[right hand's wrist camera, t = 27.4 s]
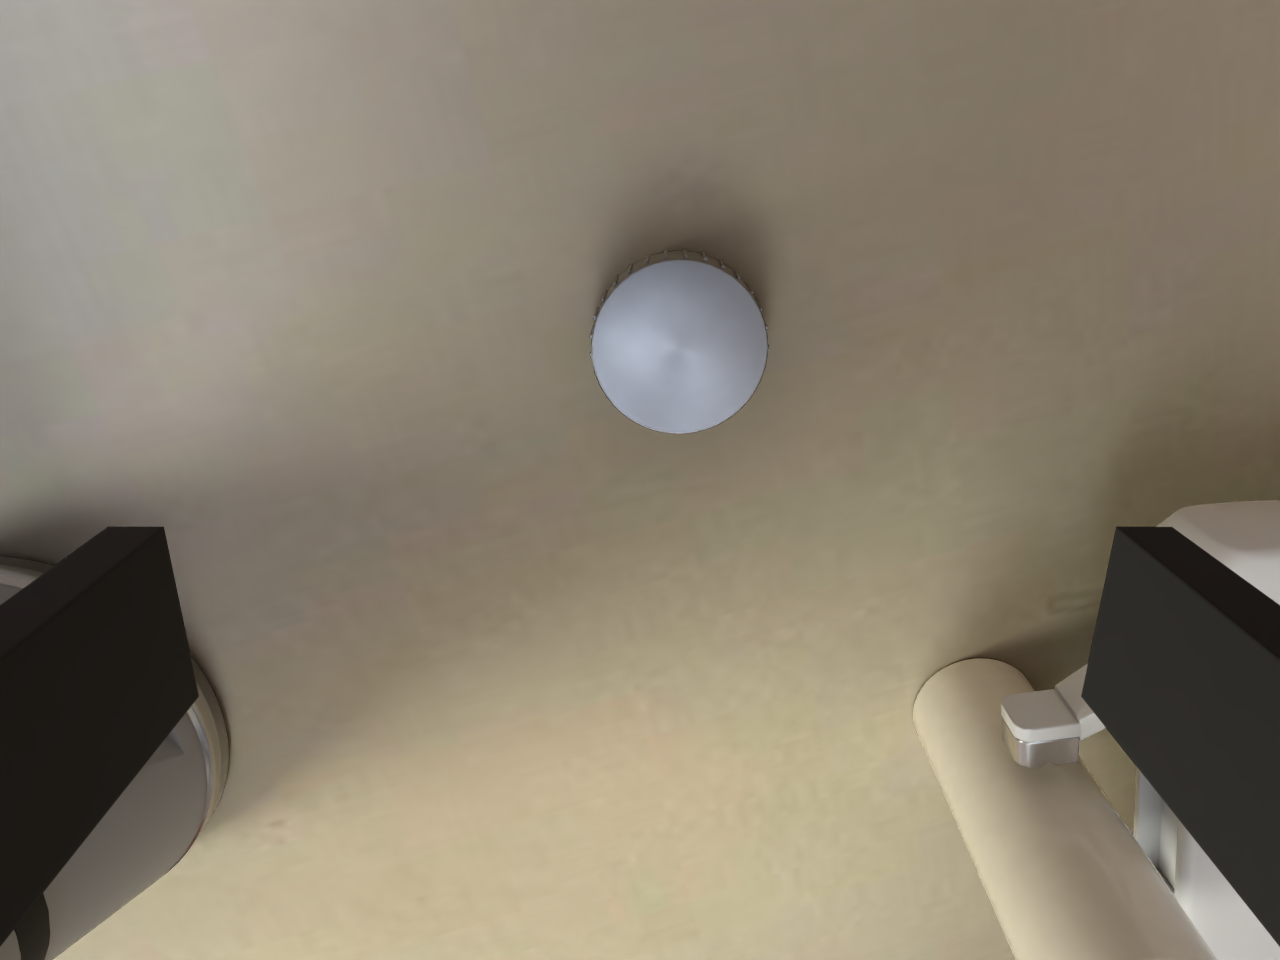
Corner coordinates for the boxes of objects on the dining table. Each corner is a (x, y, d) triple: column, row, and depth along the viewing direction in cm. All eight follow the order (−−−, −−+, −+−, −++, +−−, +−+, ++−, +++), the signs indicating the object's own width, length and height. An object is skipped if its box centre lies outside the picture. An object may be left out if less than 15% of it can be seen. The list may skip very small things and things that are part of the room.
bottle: (888, 725, 35) (1046, 1133, 21) (962, 637, 34) (1189, 1009, 19) (982, 776, 36) (1198, 1203, 22) (1059, 692, 34) (1347, 1091, 20)
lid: (797, 345, 30) (807, 361, 28) (666, 447, 31) (667, 470, 29) (690, 210, 28) (693, 216, 26) (558, 324, 30) (550, 339, 28)
